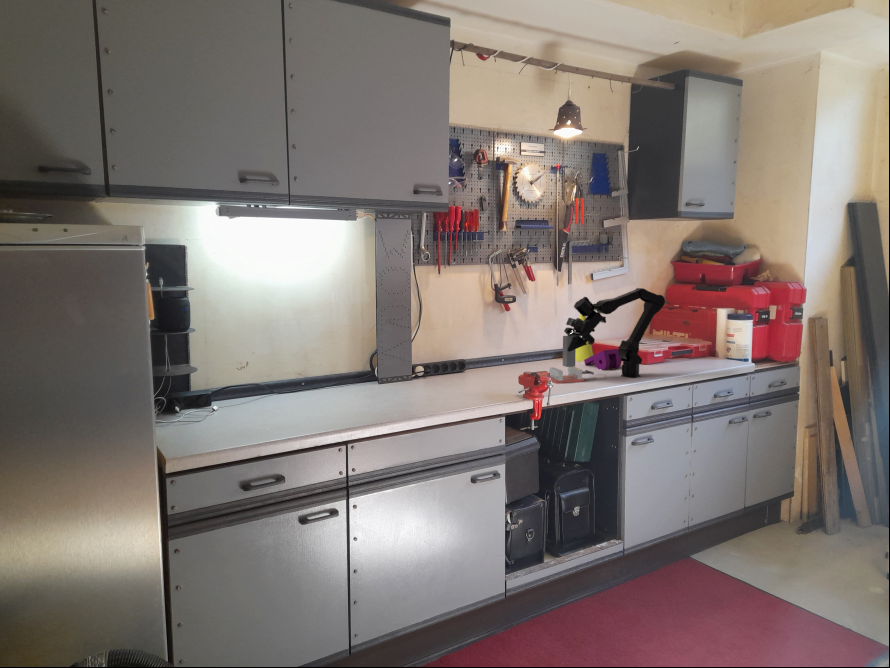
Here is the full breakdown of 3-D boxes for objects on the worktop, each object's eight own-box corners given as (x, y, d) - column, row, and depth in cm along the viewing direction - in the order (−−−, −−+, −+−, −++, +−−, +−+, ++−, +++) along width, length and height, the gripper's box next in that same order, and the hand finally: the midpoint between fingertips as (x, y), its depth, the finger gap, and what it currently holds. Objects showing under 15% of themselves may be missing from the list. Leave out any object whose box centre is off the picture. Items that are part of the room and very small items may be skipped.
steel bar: (571, 364, 256) (571, 335, 254) (575, 366, 252) (575, 336, 251) (562, 365, 255) (563, 335, 253) (566, 367, 251) (567, 337, 250)
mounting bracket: (584, 377, 289) (607, 367, 273) (580, 361, 291) (602, 350, 275) (599, 375, 293) (623, 365, 277) (595, 359, 295) (618, 348, 280)
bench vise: (585, 376, 261) (585, 365, 261) (595, 380, 253) (595, 369, 252) (547, 379, 257) (547, 367, 256) (556, 383, 248) (556, 371, 247)
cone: (565, 359, 307) (565, 311, 304) (579, 356, 315) (580, 310, 312) (584, 362, 298) (585, 313, 295) (598, 359, 306) (600, 311, 303)
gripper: (568, 309, 261) (545, 335, 259) (588, 312, 243) (563, 340, 241) (584, 326, 264) (561, 351, 262) (605, 330, 246) (581, 358, 244)
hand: (566, 350), depth 252 cm, fingers closed on steel bar, 4 cm apart
